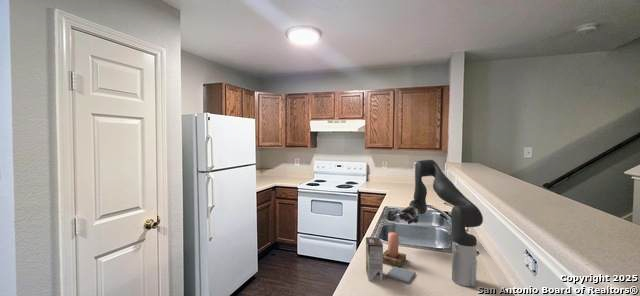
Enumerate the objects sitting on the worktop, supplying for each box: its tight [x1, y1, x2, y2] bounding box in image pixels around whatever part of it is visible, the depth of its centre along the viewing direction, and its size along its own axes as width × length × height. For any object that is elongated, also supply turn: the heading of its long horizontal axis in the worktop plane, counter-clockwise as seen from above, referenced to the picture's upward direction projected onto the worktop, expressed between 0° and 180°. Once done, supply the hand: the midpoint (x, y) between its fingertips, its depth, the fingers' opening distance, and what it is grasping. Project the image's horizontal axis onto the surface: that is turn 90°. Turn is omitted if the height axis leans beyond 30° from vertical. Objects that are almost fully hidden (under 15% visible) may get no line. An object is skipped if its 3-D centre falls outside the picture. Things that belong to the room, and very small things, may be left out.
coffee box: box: [365, 236, 384, 282], centre depth 124 cm, size 9×6×16 cm
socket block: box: [383, 249, 407, 268], centre depth 139 cm, size 10×10×3 cm
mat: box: [385, 266, 416, 285], centre depth 125 cm, size 10×10×1 cm
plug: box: [387, 231, 400, 259], centre depth 139 cm, size 5×5×14 cm
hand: (400, 220), depth 147 cm, fingers open, 8 cm apart
